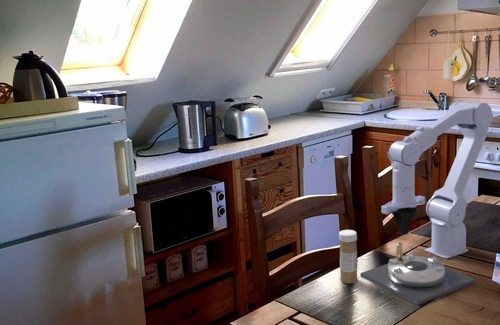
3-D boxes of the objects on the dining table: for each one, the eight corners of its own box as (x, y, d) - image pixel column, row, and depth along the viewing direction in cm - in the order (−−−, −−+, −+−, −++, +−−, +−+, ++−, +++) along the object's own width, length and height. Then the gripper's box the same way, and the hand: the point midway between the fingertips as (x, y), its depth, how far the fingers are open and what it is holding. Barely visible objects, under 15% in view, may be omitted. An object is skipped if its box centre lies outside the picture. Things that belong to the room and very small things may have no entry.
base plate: (414, 258, 154) (414, 254, 154) (474, 282, 137) (474, 278, 137) (360, 276, 144) (360, 272, 144) (417, 305, 127) (417, 301, 127)
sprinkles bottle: (346, 275, 146) (345, 227, 143) (361, 279, 143) (360, 231, 140) (336, 281, 142) (335, 233, 140) (351, 285, 139) (350, 236, 136)
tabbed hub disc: (376, 272, 143) (376, 248, 142) (415, 260, 150) (416, 237, 148) (415, 292, 131) (416, 266, 130) (456, 277, 138) (457, 252, 136)
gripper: (394, 194, 139) (395, 243, 142) (434, 183, 146) (433, 231, 149) (375, 188, 145) (376, 236, 148) (414, 178, 152) (413, 224, 155)
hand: (403, 233), depth 149 cm, fingers closed
